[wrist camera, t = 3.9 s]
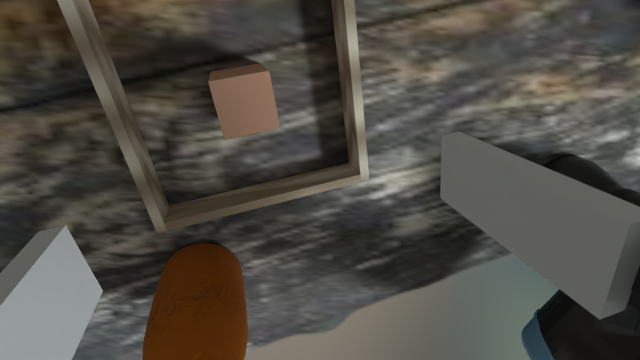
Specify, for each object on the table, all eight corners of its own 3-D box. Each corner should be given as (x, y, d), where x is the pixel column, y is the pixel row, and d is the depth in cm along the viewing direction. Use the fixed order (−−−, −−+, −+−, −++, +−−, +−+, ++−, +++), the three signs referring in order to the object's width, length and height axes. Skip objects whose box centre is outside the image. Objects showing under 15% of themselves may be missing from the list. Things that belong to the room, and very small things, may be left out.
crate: (357, 167, 43) (369, 179, 39) (163, 215, 39) (157, 233, 35) (334, -56, 32) (348, -67, 29) (65, -25, 28) (42, -33, 25)
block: (269, 109, 37) (280, 128, 30) (224, 118, 36) (224, 139, 29) (259, 63, 35) (269, 70, 28) (211, 71, 34) (208, 81, 27)
